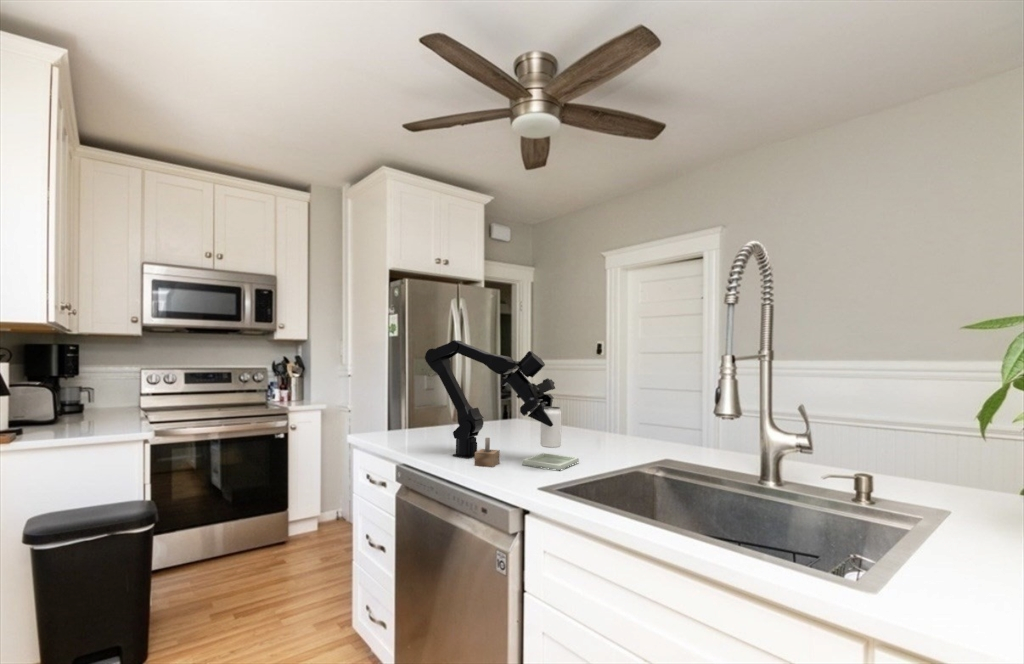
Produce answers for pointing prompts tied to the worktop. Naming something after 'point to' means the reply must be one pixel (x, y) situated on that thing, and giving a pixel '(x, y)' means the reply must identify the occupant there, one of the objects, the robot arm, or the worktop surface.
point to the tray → (550, 461)
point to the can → (551, 428)
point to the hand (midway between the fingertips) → (555, 424)
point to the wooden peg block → (487, 456)
